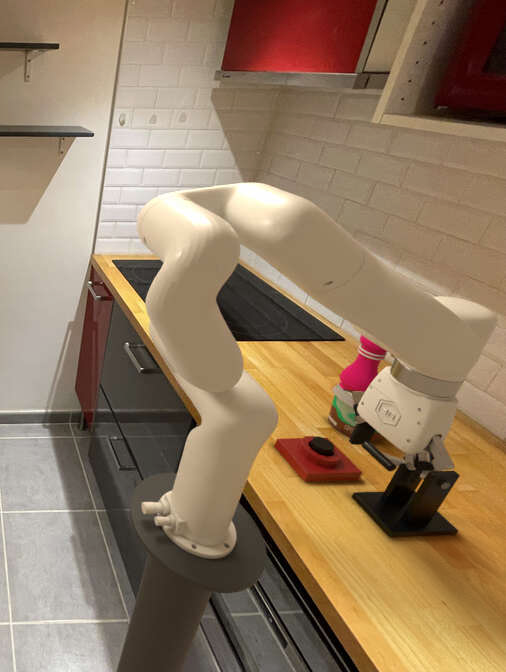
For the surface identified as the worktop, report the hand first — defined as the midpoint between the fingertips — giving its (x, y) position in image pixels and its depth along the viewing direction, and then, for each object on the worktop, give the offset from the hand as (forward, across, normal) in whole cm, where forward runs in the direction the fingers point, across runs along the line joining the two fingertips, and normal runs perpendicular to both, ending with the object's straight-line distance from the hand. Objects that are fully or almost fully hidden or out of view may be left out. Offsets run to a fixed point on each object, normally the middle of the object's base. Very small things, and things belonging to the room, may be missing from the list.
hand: (379, 461), depth 74 cm
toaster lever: (+2, 0, +4) cm, 5 cm away
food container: (+14, -19, +18) cm, 29 cm away
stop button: (+10, -12, +3) cm, 16 cm away
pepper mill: (+14, -32, +28) cm, 44 cm away
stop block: (+13, -12, +3) cm, 18 cm away
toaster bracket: (+13, 0, +10) cm, 17 cm away
